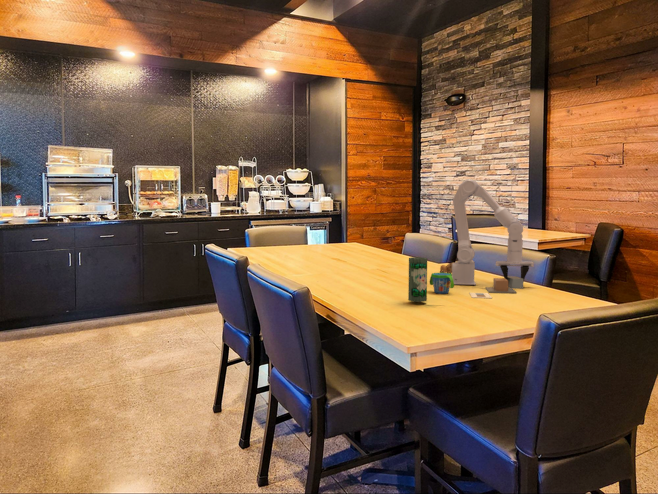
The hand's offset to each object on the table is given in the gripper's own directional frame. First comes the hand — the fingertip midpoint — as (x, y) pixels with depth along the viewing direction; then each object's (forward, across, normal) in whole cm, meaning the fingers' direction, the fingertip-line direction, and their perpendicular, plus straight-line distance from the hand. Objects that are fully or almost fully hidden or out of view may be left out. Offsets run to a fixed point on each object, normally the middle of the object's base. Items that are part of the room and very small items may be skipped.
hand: (514, 283), depth 204 cm
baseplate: (+1, -7, -11) cm, 13 cm away
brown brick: (+1, -7, -11) cm, 13 cm away
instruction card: (+1, -16, -23) cm, 28 cm away
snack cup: (+2, -30, -19) cm, 36 cm away
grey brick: (+1, 0, 0) cm, 1 cm away
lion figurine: (+2, -26, +28) cm, 38 cm away
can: (+2, -39, -36) cm, 53 cm away
